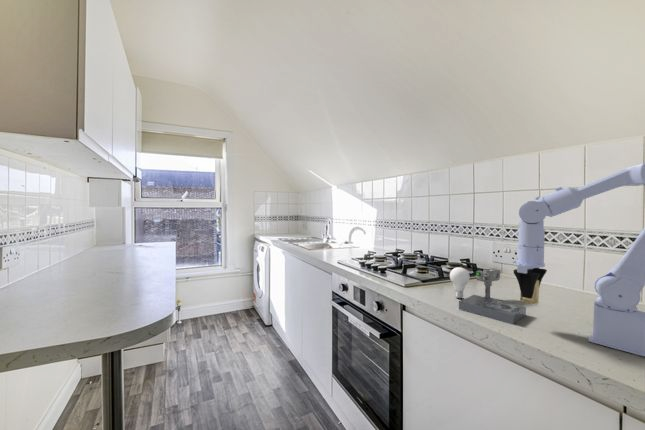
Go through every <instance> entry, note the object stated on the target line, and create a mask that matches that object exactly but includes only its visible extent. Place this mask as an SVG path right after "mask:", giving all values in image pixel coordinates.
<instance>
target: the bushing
mask: <svg viewBox="0 0 645 430" xmlns="http://www.w3.org/2000/svg"><path fill="white" fill-rule="evenodd" d="M539 292H540V287H539V280H538V279H537V281H536V284H535V288H534V293H533V297H532V298H531V299H530V298H525V297H522V295H521V294H520V301H521V302H523V303H526V304H531V305H532V304H534V305H535V304H536V305H537V304H539V301H540V300H539V297H540V293H539Z"/></svg>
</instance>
